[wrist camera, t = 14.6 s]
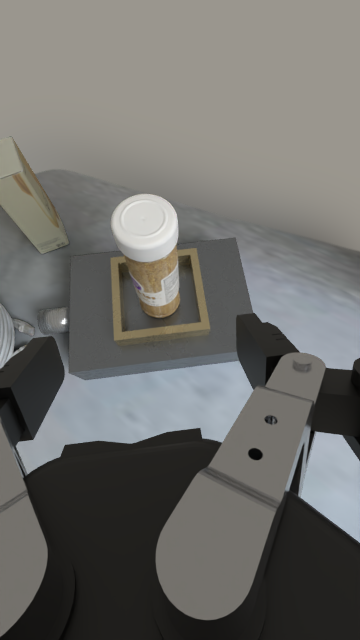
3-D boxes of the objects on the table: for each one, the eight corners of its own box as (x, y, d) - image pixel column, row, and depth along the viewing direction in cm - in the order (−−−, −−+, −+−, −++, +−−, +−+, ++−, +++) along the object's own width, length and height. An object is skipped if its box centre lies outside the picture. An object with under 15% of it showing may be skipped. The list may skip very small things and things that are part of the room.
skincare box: (70, 244, 40) (24, 172, 28) (41, 255, 39) (-18, 186, 28) (58, 212, 42) (11, 132, 31) (30, 222, 41) (-29, 145, 30)
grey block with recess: (229, 260, 39) (238, 226, 32) (250, 359, 34) (266, 343, 27) (55, 280, 38) (28, 250, 31) (51, 384, 33) (18, 374, 26)
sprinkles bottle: (131, 304, 31) (94, 223, 18) (157, 275, 32) (138, 180, 20) (164, 327, 30) (148, 258, 17) (189, 296, 31) (191, 211, 19)
